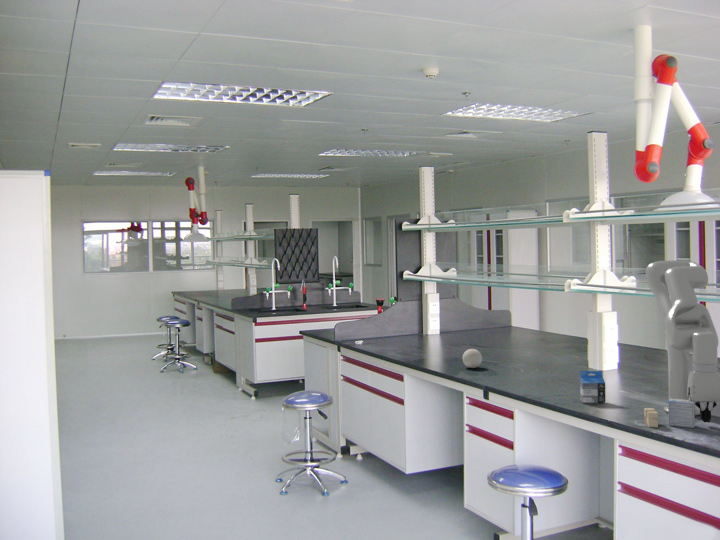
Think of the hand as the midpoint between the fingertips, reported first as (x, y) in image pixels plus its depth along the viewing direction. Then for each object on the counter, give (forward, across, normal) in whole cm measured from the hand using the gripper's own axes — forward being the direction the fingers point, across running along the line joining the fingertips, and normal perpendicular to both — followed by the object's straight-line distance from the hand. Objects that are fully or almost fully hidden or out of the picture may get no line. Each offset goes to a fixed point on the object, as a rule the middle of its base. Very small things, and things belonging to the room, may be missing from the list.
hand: (705, 421), depth 219 cm
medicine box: (+2, +8, 0) cm, 8 cm away
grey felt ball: (+2, +79, -104) cm, 130 cm away
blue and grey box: (+2, +31, -32) cm, 45 cm away
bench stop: (+2, +17, 0) cm, 17 cm away
